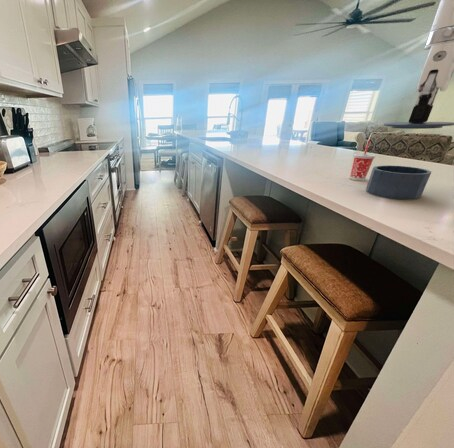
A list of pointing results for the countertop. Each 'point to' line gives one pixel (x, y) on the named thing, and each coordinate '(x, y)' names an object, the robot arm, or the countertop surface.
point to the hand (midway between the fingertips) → (417, 121)
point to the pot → (398, 182)
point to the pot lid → (418, 125)
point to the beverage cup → (361, 165)
